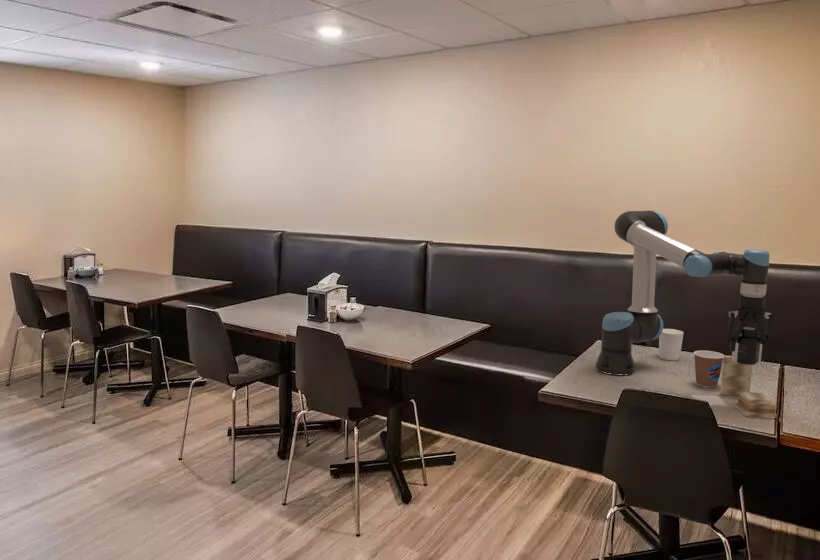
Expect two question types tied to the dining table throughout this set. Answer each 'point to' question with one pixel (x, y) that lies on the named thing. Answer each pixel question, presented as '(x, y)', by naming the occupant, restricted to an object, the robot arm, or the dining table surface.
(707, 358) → the coffee cup
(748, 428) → the dining table surface
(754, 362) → the supplement bottle
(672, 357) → the white paper cup
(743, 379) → the set of wooden blocks
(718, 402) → the grey pad
